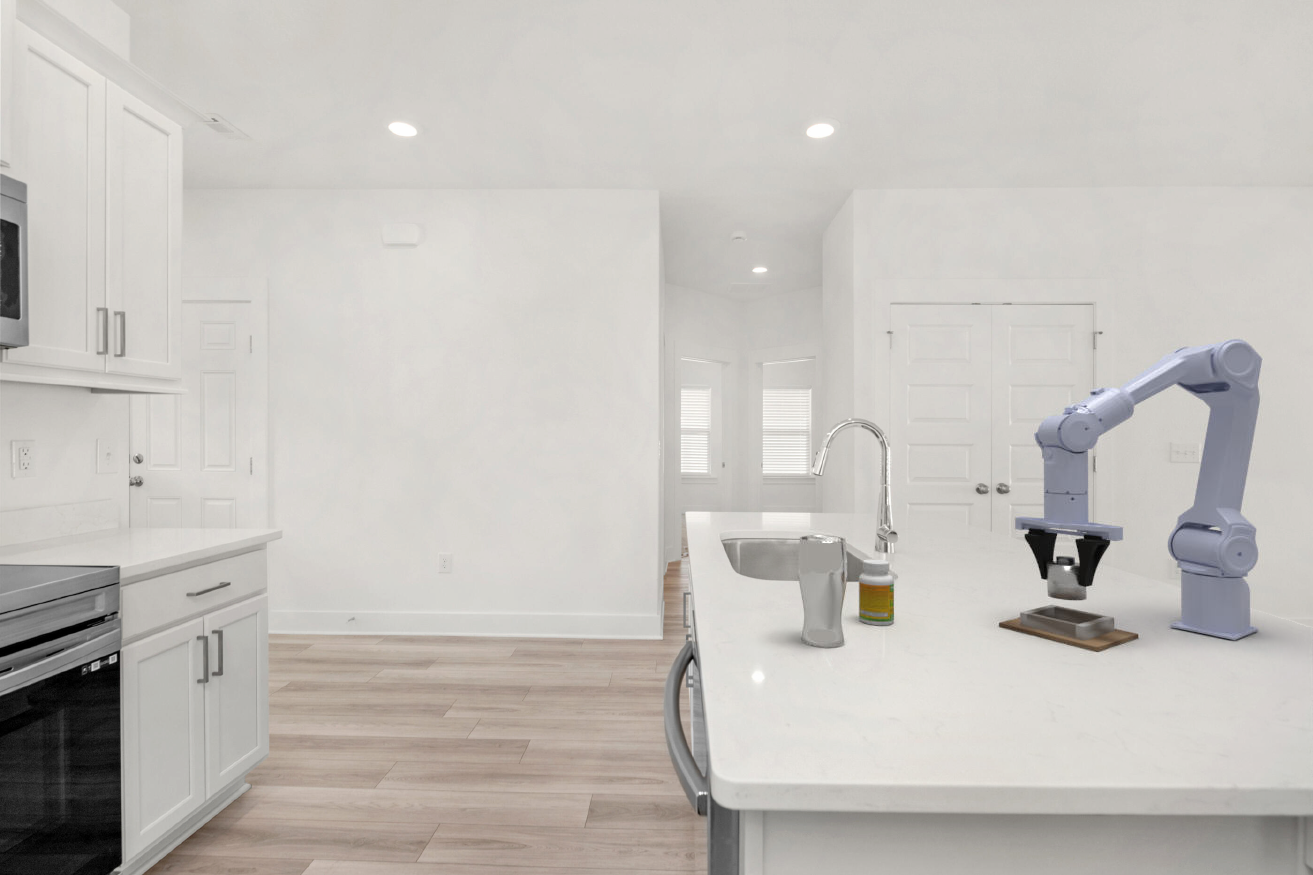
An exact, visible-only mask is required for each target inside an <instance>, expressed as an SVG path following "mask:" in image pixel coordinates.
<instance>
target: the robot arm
mask: <svg viewBox="0 0 1313 875" xmlns="http://www.w3.org/2000/svg"><path fill="white" fill-rule="evenodd" d="M1262 361H1263V358H1262V356H1260V354H1259V353H1258V352H1257V351H1256V350H1255V348H1253V346H1252V344H1251V345H1250V344H1249V342H1247V341H1245V340H1243V339H1240V338H1239V339H1238V338H1232V339H1228V340H1224V341H1220V342H1215V343H1214V342H1213V343H1207V344H1202V345H1197V346H1190V347H1189V346H1184V347H1180V348H1177V349H1175V350H1174V351H1173V352H1171V353H1168V354H1165V355H1163V356H1162V357H1161V359H1160V360H1159V361H1157V362H1156V363H1154V364H1152V365H1151V366H1149V367H1148V368H1146V369H1145V370H1144V371H1142V372H1141V373H1139V374H1138V375H1136V376H1134V377H1133V378H1131V379H1130V380H1129V381H1127V382H1125V383H1124V384H1123V385H1121V386H1120V387H1118V388H1117V387H1112V386H1105V387H1095V388H1093V389H1092V390H1090V391H1089V393H1090V395H1089V396H1088V397H1086V398H1084V399H1083V400H1081V401H1079V402H1078V403H1076V404H1069V405H1067V406H1066V407H1064V411H1063V413H1062V414H1056V415H1049V416H1047V417H1046V418H1045V419H1043V420H1042V421H1041V422H1040V425H1038V428H1037V431H1036V432H1034V435H1033V436H1034V440H1035V443H1036V444H1037V446H1038V447H1039V448H1040V450H1041V455H1042V456H1041V459H1043V517H1042V518H1041V517H1031V516H1030V517H1029V516H1017V517H1014V528H1015V530H1019V531H1022V530H1025V531H1027V533H1025V534H1024V540H1025V541H1026V543H1027V544H1028V546H1029V547H1030V549H1031V551H1032V553H1033V556H1034V559H1035V560H1036V564H1037V566H1038V571H1039V575H1040V578H1041V580H1046V581H1047V562H1051V561H1054V554H1055V546H1056V540H1057V537H1058V535H1059V534H1060V535H1067V536H1069V535H1070V536H1077V537H1080V538H1075V542H1074V543H1075V545H1076V548H1077V550H1076V551H1077V555H1078V561H1079V562H1078V563H1080V574H1079V580H1080V586H1083V587H1086V588H1087V587H1091V586H1093V582H1094V578H1095V574H1096V571H1097V569H1098V566H1099V564H1100V561H1101V559H1102V557H1103V555H1104V554H1105V552H1106V551H1107V549H1108V548H1109V547H1110V545H1111V542H1112V541H1113V542H1118V541H1124V527H1123V526H1119V525H1112V524H1111V525H1109V524H1104V523H1103V524H1102V523H1098V522H1097V523H1095V522H1090V521H1089V450H1093V448H1094V447H1095V446H1096V444H1097V442H1098V440H1099V438H1100V436H1102V435H1103V434H1106V433H1107V432H1108V431H1111V430H1112V429H1114V428H1115V427H1117V426H1119V425H1120V424H1122V423H1124V422H1126V421H1127V420H1129V419H1130V418H1132V416H1133V415H1134V412H1135V410H1134V409H1135V406H1136V405H1138V404H1140V403H1142V402H1145V401H1146V400H1148V399H1150V398H1152V397H1153V396H1155V395H1157V394H1159V393H1161V392H1162V391H1165V390H1166V389H1169V388H1170V387H1172V386H1174V385H1177V387H1180V388H1181V389H1183V390H1185V391H1186V392H1188V393H1189V394H1191V395H1192V396H1194V397H1196V398H1197V399H1199V400H1201V401H1203V402H1204V404H1206V405H1207V406H1208V407H1209V409H1210V410H1209V417H1208V422H1207V428H1206V433H1205V438H1204V444H1203V450H1202V455H1201V462H1200V466H1199V467H1200V468H1199V471H1198V472H1199V473H1198V479H1197V483H1196V490H1195V495H1194V500H1193V501H1194V502H1193V506H1191V507H1190V508H1189V509H1187V510H1185V511H1184V512H1183V513H1181V514H1180V515H1179V516H1178V517H1177V521H1176V522H1177V523H1176V525H1175V527H1174V529H1173V530H1172V532H1171V533H1170V534H1169V537H1168V539H1167V549H1168V553H1169V555H1170V556H1171V558H1173V560H1175V561H1176V562H1177V568H1180V569H1181V570H1180V574H1181V575H1180V588H1181V590H1180V593H1181V594H1180V596H1181V598H1180V599H1181V601H1180V604H1181V605H1180V606H1181V612H1180V614H1181V619H1180V620H1178V621H1175V622H1174V621H1173V622H1171V623H1169V626H1170V627H1171V628H1175V629H1178V630H1179V629H1180V630H1185V631H1189V632H1194V633H1199V634H1204V635H1208V636H1213V637H1218V638H1223V639H1227V640H1234V641H1236V640H1238V639H1240V638H1243V637H1246V636H1249V635H1251V634H1253V633H1255V632H1258V631H1259V627H1257V626H1253V625H1251V590H1250V586H1249V584H1248V582H1247V580H1246V579H1244V577H1246V578H1247V577H1248V576H1249V574H1248V573H1249V572H1250V571H1252V570H1253V569H1254V568H1255V566H1256V565H1257V563H1258V559H1259V558H1258V557H1259V549H1258V545H1257V542H1256V536H1257V535H1256V533H1257V527H1256V526H1255V525H1253V524H1252V523H1251V522H1250V521H1249V520H1248V519H1247V518H1245V516H1244V515H1243V514H1242V513H1241V510H1242V505H1243V499H1244V495H1245V494H1244V492H1245V488H1246V483H1247V482H1246V481H1247V478H1248V471H1249V465H1250V460H1251V454H1252V453H1251V452H1252V448H1253V442H1254V436H1255V431H1256V425H1257V419H1258V414H1259V409H1260V404H1261V403H1260V401H1261V395H1260V390H1259V389H1260V388H1259V379H1260V373H1261V368H1262ZM1212 528H1218V529H1219V530H1217V529H1212ZM1081 537H1082V538H1081Z"/></svg>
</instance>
